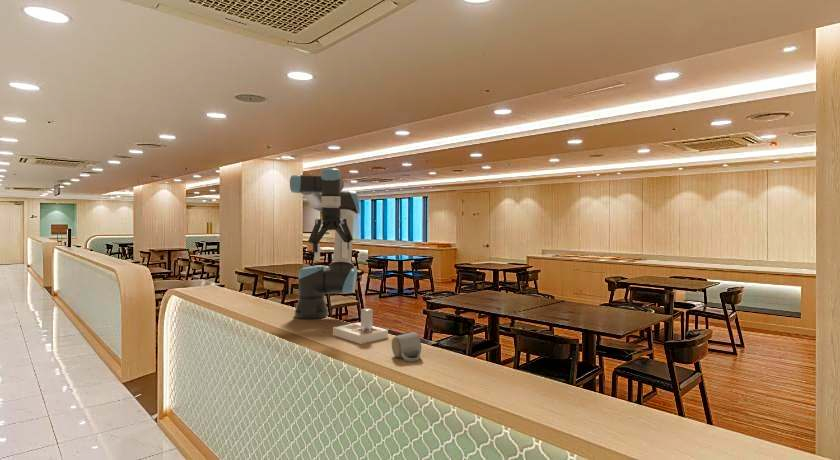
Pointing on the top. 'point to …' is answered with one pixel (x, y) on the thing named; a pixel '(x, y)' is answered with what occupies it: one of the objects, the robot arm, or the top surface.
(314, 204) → the robot arm
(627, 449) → the top surface
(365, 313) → the pin
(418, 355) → the ceramic mug
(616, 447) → the top surface
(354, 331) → the pin board
